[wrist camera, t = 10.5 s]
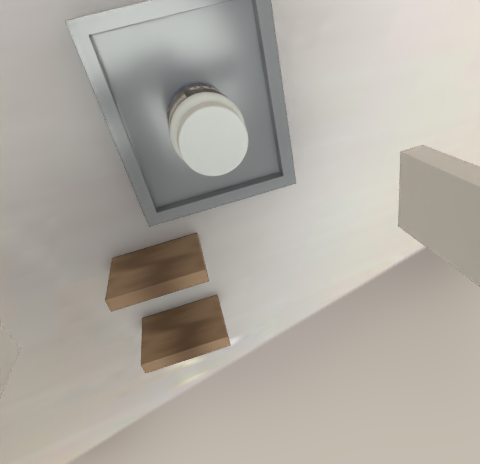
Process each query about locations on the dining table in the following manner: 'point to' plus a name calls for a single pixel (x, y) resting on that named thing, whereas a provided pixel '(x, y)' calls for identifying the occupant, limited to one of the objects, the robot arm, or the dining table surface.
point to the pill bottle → (206, 129)
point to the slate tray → (177, 75)
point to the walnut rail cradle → (174, 320)
